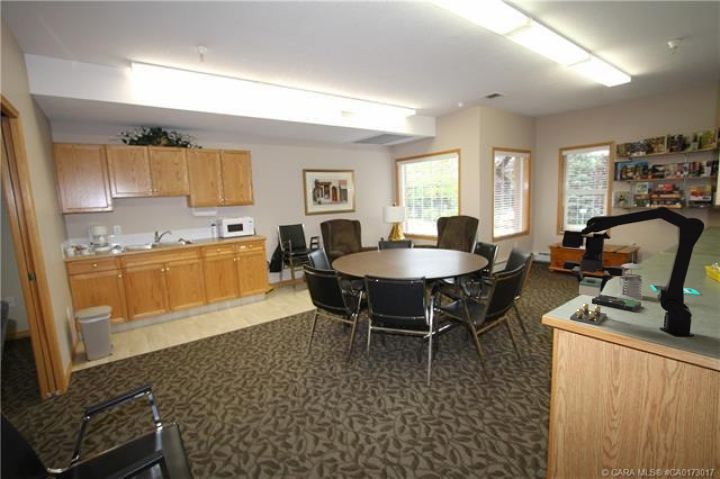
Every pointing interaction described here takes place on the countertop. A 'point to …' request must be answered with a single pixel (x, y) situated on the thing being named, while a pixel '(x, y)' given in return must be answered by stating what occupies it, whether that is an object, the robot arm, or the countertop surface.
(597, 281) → the board
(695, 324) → the countertop surface
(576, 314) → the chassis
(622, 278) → the french press
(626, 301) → the disk drive
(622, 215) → the robot arm
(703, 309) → the countertop surface
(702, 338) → the countertop surface
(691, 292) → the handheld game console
